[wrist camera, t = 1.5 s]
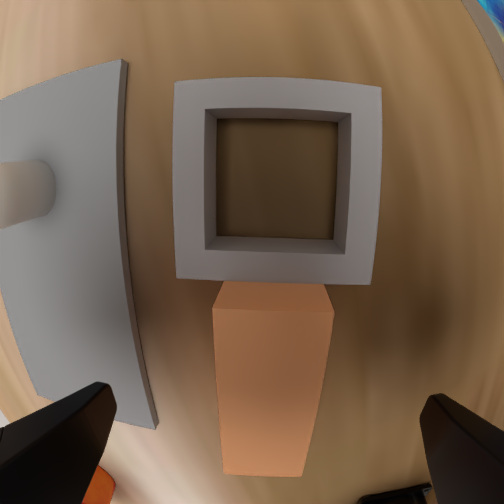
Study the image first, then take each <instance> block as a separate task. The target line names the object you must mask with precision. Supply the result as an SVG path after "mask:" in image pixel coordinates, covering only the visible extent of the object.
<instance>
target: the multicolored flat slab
mask: <svg viewBox="0 0 504 504" xmlns="http://www.w3.org/2000/svg"><path fill="white" fill-rule="evenodd" d="M461 1H462V2H463V4H464V6H465V7H466V9H467V10H468V12H469V14H470V15H471V17H472V19H473V21H474V22H475V24H476V26H477V28H478V29H479V31H480V33H481V35H482V37H483V39H484V41H485V43H486V45H487V47H488V49H489V51H490V53H491V55H492V57H493V59H494V61H495V63H496V66H497V68H498V70H499V72H500V75H501V77H502V80H503V82H504V0H461Z"/></svg>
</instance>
